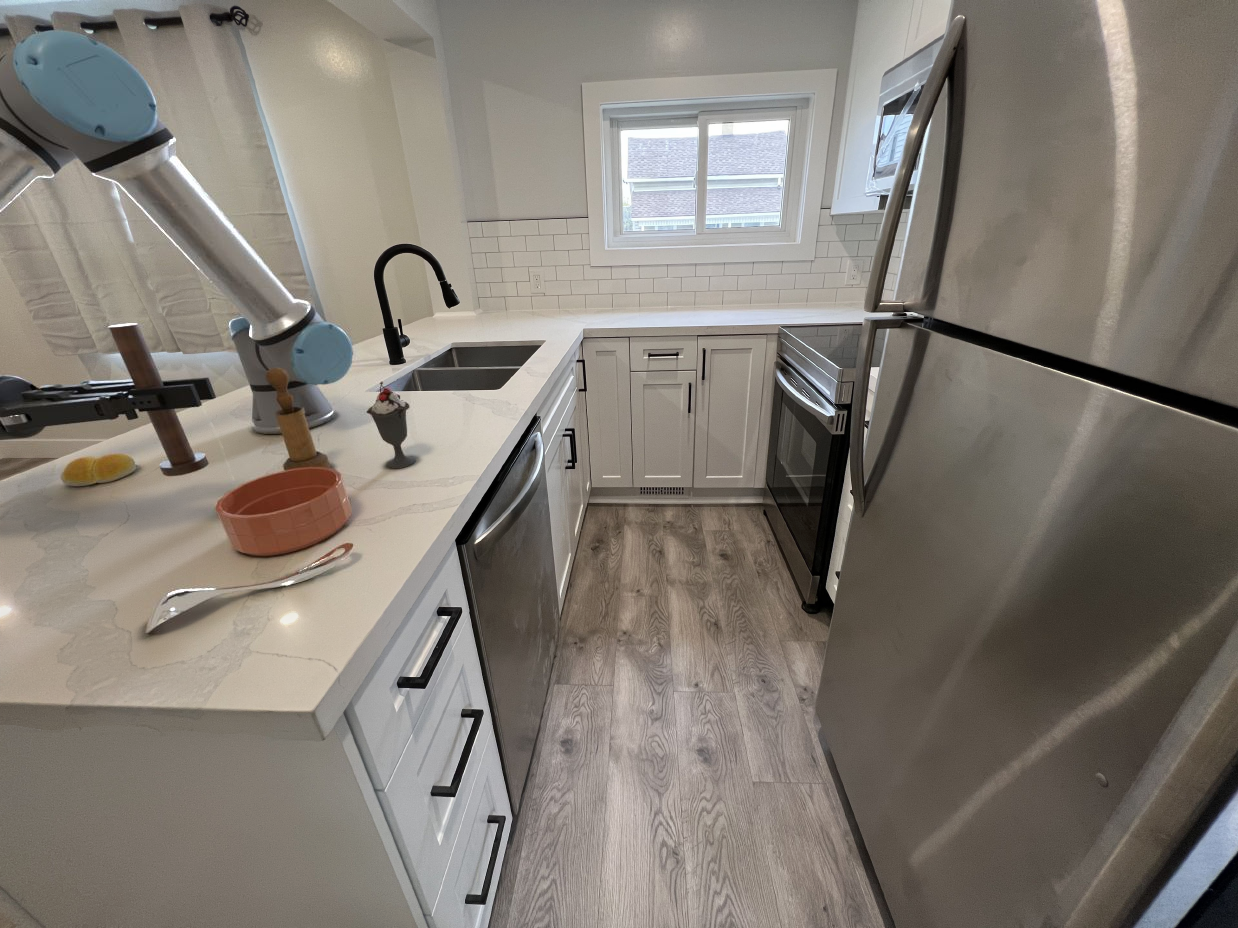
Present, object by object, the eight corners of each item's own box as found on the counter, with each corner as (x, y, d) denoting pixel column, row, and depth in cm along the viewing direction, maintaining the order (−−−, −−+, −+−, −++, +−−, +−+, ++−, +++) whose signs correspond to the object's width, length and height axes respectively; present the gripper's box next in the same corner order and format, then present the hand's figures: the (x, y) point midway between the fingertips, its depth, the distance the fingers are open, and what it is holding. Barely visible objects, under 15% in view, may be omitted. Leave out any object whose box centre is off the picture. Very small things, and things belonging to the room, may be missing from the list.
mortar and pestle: (310, 482, 81) (274, 374, 74) (277, 480, 82) (238, 373, 75) (339, 465, 87) (308, 363, 79) (307, 463, 88) (274, 363, 81)
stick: (177, 463, 68) (114, 323, 60) (216, 459, 68) (158, 320, 61) (154, 478, 63) (83, 329, 56) (196, 473, 64) (132, 327, 56)
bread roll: (130, 479, 85) (119, 458, 83) (60, 492, 81) (47, 470, 80) (145, 462, 92) (135, 442, 90) (81, 473, 88) (70, 452, 86)
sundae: (397, 474, 83) (375, 386, 76) (372, 466, 86) (349, 381, 80) (429, 459, 88) (411, 376, 81) (405, 452, 91) (386, 372, 85)
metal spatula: (344, 522, 61) (351, 538, 57) (354, 546, 63) (361, 563, 59) (135, 597, 51) (128, 623, 48) (153, 623, 53) (148, 650, 49)
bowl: (262, 509, 73) (248, 473, 71) (364, 497, 75) (354, 462, 73) (209, 566, 60) (189, 524, 58) (334, 550, 63) (320, 508, 60)
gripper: (54, 418, 68) (244, 402, 71) (-67, 465, 53) (178, 441, 57) (24, 363, 64) (224, 349, 68) (-112, 398, 50) (150, 378, 54)
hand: (203, 391), depth 63 cm, fingers closed on stick, 3 cm apart
